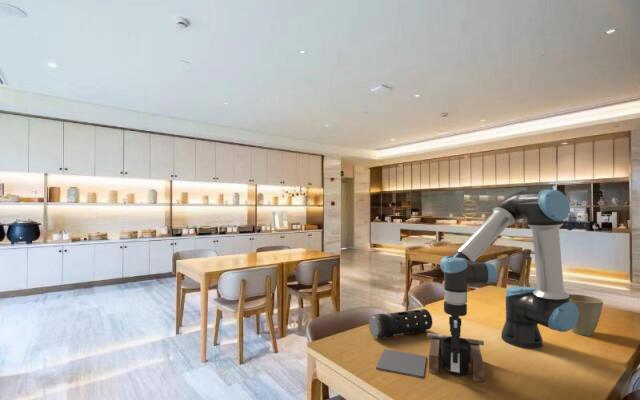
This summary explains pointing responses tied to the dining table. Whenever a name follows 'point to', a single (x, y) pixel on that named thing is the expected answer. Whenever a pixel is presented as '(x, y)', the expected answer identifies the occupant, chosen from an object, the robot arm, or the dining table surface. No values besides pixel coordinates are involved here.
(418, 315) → the muzzle brake
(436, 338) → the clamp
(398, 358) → the mat
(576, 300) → the plant pot
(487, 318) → the dining table surface
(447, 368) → the pen holder
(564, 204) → the robot arm
